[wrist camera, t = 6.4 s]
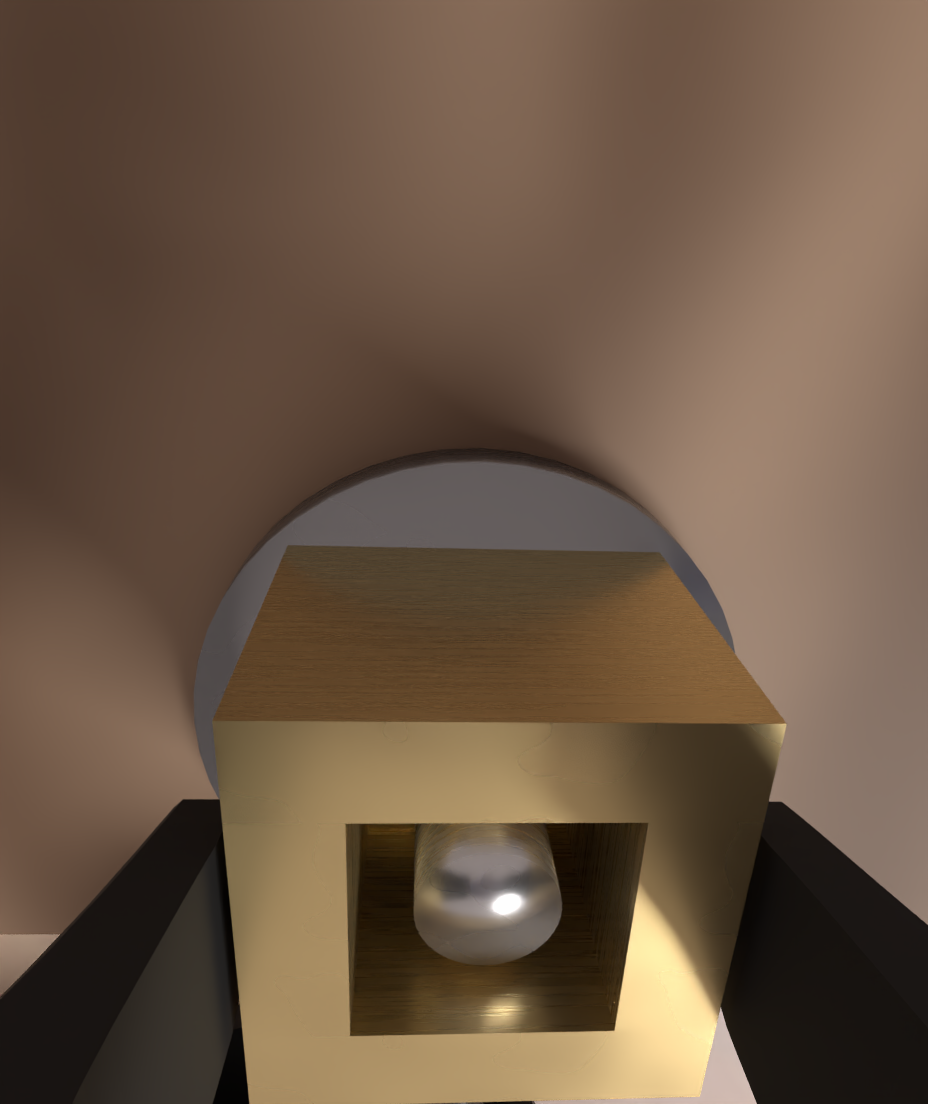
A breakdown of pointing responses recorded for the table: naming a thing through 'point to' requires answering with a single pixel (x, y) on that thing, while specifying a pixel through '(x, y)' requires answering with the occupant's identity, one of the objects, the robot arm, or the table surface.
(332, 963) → the collar
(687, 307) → the board
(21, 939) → the table surface
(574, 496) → the stand
